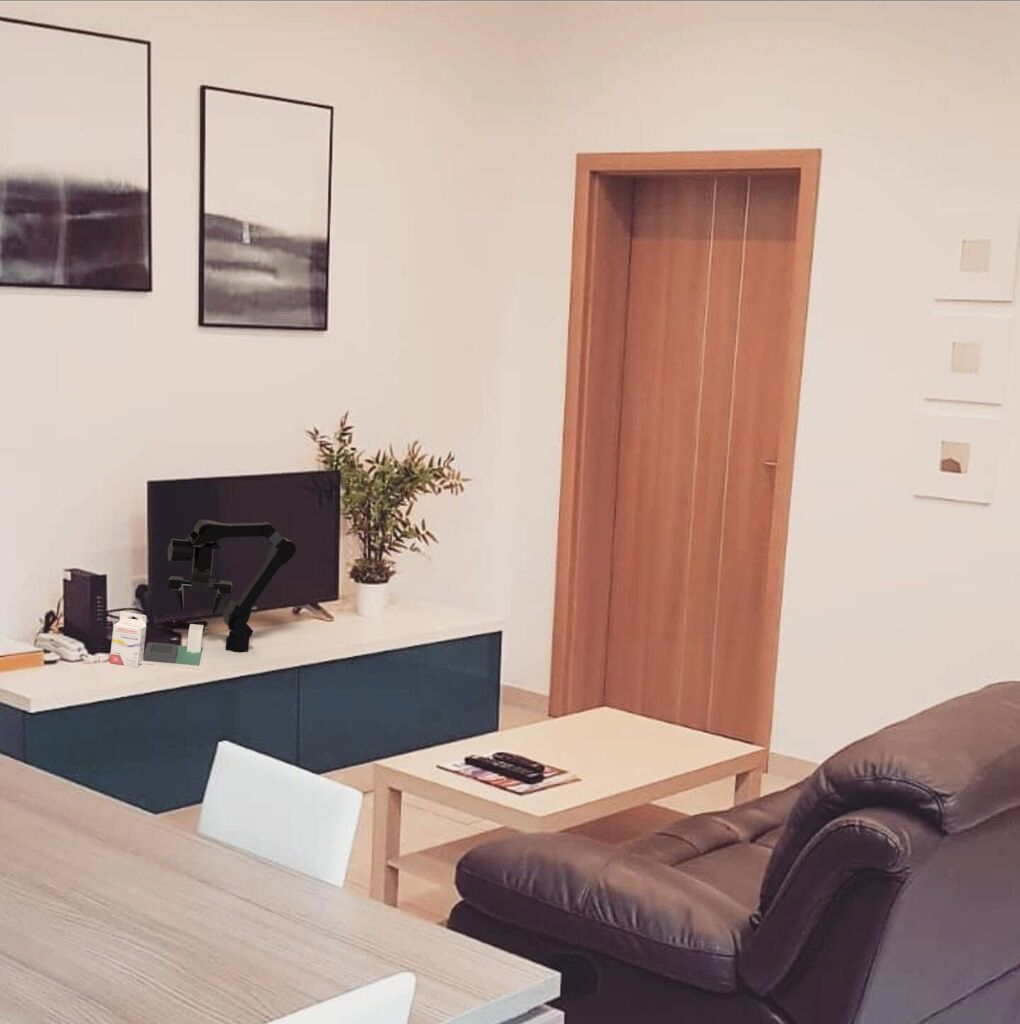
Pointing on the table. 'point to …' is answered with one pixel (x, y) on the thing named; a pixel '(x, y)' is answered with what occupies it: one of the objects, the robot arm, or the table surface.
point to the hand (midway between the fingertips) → (197, 612)
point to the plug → (195, 638)
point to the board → (171, 654)
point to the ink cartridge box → (128, 640)
